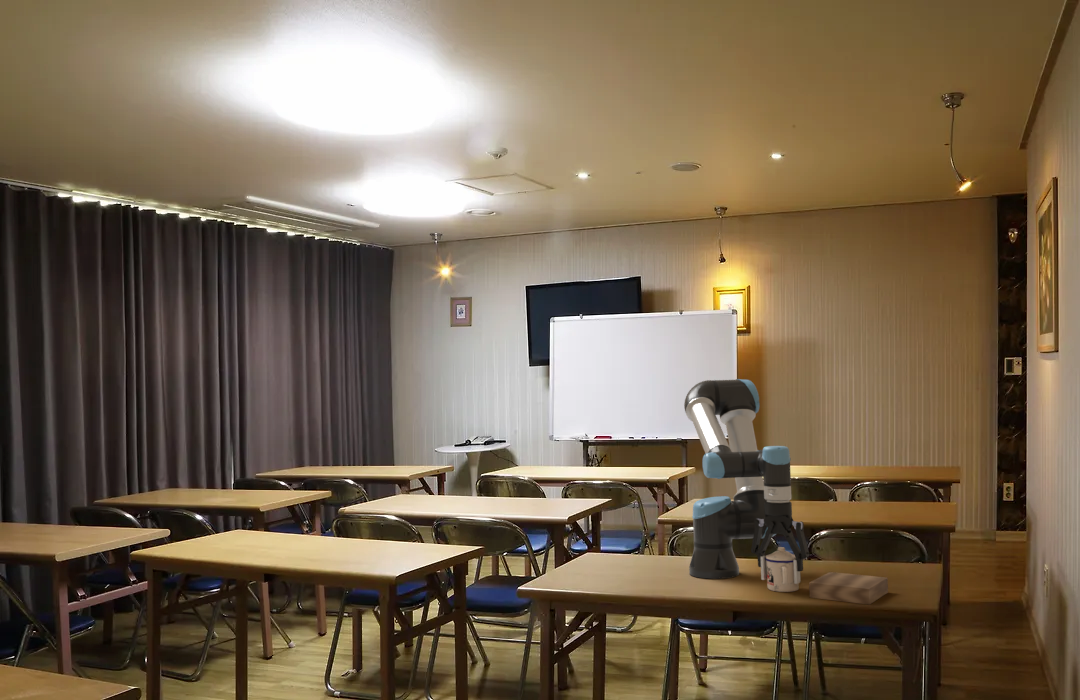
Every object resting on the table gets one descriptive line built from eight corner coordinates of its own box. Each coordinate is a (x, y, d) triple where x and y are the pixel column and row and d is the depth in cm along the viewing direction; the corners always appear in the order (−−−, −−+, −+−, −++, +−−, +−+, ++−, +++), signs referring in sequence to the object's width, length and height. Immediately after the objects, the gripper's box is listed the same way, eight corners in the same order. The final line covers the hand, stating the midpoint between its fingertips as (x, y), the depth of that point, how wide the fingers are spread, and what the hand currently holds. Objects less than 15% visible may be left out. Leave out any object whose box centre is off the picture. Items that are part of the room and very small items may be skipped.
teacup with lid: (765, 585, 260) (763, 544, 261) (797, 585, 259) (795, 544, 259) (769, 594, 248) (767, 552, 249) (803, 595, 247) (801, 552, 247)
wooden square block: (809, 597, 244) (809, 582, 244) (830, 586, 257) (829, 571, 257) (869, 604, 234) (868, 589, 234) (888, 592, 247) (887, 577, 247)
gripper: (736, 500, 259) (739, 579, 258) (810, 504, 245) (813, 587, 244) (747, 497, 265) (750, 574, 264) (820, 501, 251) (823, 582, 250)
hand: (780, 580), depth 254 cm, fingers closed on teacup with lid, 9 cm apart
